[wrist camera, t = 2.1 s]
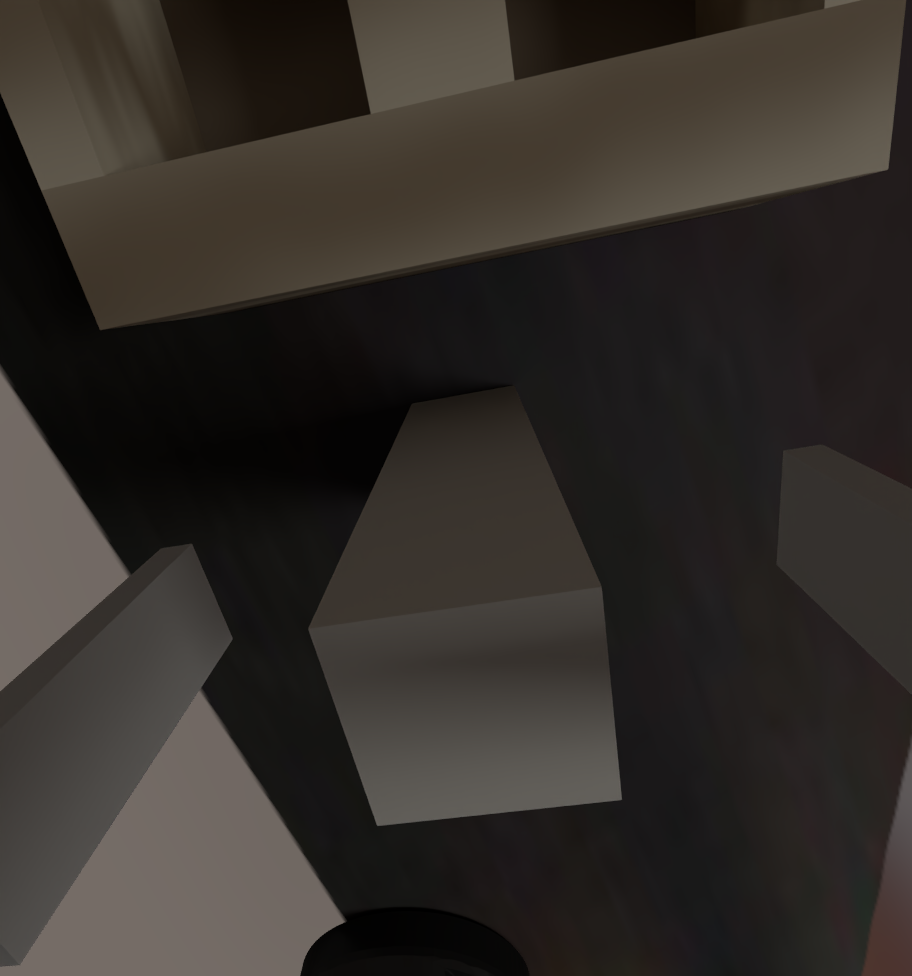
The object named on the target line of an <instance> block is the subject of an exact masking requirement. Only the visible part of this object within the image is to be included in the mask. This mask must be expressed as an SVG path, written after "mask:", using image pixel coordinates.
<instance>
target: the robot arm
mask: <svg viewBox="0 0 912 976" xmlns="http://www.w3.org/2000/svg"><path fill="white" fill-rule="evenodd" d="M777 565H778V566H779V567H780V568H781V569H782V570H783V571H784V572H785V573H786V574H787V575H788V576H789V577H790V578H791V579H792V580H793V581H794V582H795V583H796V584H798V585H799V586H800V587H801V588H802V589H803V590H804V591H805V592H806V593H807V594H808V595H809V596H810V597H811V598H812V599H813V600H814V601H815V602H816V603H817V604H818V605H819V606H820V607H821V608H822V609H823V610H824V611H826V612H827V613H828V614H829V615H830V616H831V617H832V618H833V619H834V620H835V621H836V622H837V623H838V624H839V625H840V626H841V627H842V628H843V629H844V630H845V631H846V632H847V633H848V634H849V635H850V636H851V637H853V638H854V639H855V640H856V641H857V642H858V643H859V644H860V645H861V646H862V647H863V648H864V649H865V650H866V651H867V652H868V653H869V654H870V655H871V656H872V657H873V658H874V659H875V660H876V661H877V662H878V663H880V664H881V665H882V666H883V667H884V668H885V669H886V670H887V671H888V672H889V673H890V674H891V675H892V676H893V677H894V678H895V679H896V680H897V681H898V682H899V683H900V684H901V685H902V686H903V687H904V688H905V689H907V690H908V691H909V692H910V693H911V694H912V489H911V488H909V487H907V486H905V485H903V484H901V483H899V482H897V481H895V480H893V479H891V478H889V477H887V476H885V475H883V474H881V473H879V472H877V471H875V470H873V469H871V468H868V467H866V466H864V465H862V464H860V463H858V462H856V461H854V460H852V459H850V458H848V457H846V456H844V455H842V454H840V453H838V452H836V451H834V450H832V449H830V448H828V447H826V446H824V445H817V446H810V447H804V448H797V449H791V450H785V451H783V465H782V482H781V499H780V516H779V533H778V550H777ZM232 639H233V638H232V636H231V634H230V631H229V629H228V627H227V624H226V622H225V620H224V617H223V615H222V613H221V610H220V608H219V606H218V603H217V601H216V599H215V597H214V594H213V592H212V590H211V587H210V585H209V583H208V580H207V578H206V576H205V573H204V571H203V569H202V566H201V564H200V562H199V559H198V557H197V555H196V552H195V550H194V548H193V545H192V544H187V545H181V546H174V547H168V548H162V549H160V550H159V551H158V552H157V553H156V554H154V555H153V556H152V557H151V558H150V559H149V560H148V561H147V562H145V563H144V564H143V565H142V566H141V567H140V568H139V569H138V570H136V571H135V572H134V573H133V574H132V575H131V576H130V577H129V578H127V579H126V580H125V581H124V582H123V583H122V584H121V585H120V586H118V587H117V588H116V589H115V590H114V591H113V592H112V593H111V594H109V596H107V597H106V598H105V599H104V600H103V601H102V602H101V603H99V604H98V605H97V606H96V607H95V608H94V609H93V610H91V611H90V612H89V613H88V614H87V615H86V616H85V617H84V618H83V619H81V620H80V621H79V622H78V623H77V624H76V625H75V626H73V627H72V628H71V629H70V630H69V631H68V632H67V633H66V634H65V635H63V636H62V637H61V638H60V639H59V640H58V641H57V642H55V644H53V645H52V646H51V647H50V648H49V649H48V650H47V651H45V652H44V653H43V654H42V655H41V656H40V657H39V658H38V659H36V660H35V661H34V662H33V663H32V664H31V665H30V666H28V667H27V668H26V669H25V670H24V671H23V672H22V673H21V674H19V675H18V676H17V677H16V678H15V679H14V680H13V681H12V682H10V683H9V684H8V685H7V686H6V687H5V688H4V689H3V690H2V691H0V966H13V965H20V964H21V962H22V961H23V959H24V958H25V956H26V955H27V953H28V951H29V950H30V948H31V947H32V945H33V944H34V942H35V941H36V939H37V938H38V936H39V934H40V933H41V931H42V930H43V928H44V927H45V925H46V924H47V922H48V921H49V919H50V918H51V916H52V915H53V913H54V912H55V910H56V909H57V907H58V906H59V904H60V902H61V901H62V899H63V898H64V896H65V895H66V893H67V892H68V890H69V889H70V887H71V886H72V884H73V883H74V881H75V880H76V878H77V877H78V875H79V873H80V872H81V870H82V868H83V867H84V866H85V864H86V863H87V861H88V860H89V858H90V857H91V855H92V853H93V852H94V850H95V849H96V847H97V846H98V844H99V843H100V841H101V840H102V838H103V837H104V835H105V834H106V832H107V831H108V829H109V828H110V826H111V824H112V823H113V821H114V820H115V818H116V817H117V815H118V814H119V812H120V811H121V809H122V808H123V806H124V805H125V803H126V802H127V800H128V798H129V797H130V795H131V794H132V792H133V791H134V789H135V788H136V786H137V785H138V783H139V782H140V780H141V779H142V777H143V775H144V774H145V772H146V771H147V769H148V768H149V766H150V765H151V763H152V762H153V760H154V759H155V757H156V756H157V754H158V753H159V751H160V749H161V748H162V746H163V745H164V743H165V742H166V740H167V739H168V737H169V736H170V734H171V733H172V731H173V730H174V728H175V727H176V725H177V723H178V722H179V720H180V719H181V717H182V716H183V714H184V713H185V711H186V710H187V708H188V706H189V705H190V704H191V702H192V700H193V699H194V697H195V696H196V694H197V693H198V691H199V690H200V688H201V687H202V685H203V684H204V682H205V681H206V679H207V678H208V676H209V674H210V673H211V671H212V670H213V668H214V667H215V665H216V664H217V662H218V661H219V659H220V658H221V656H222V655H223V653H224V651H225V650H226V648H227V647H228V645H229V644H230V642H231V641H232ZM300 976H529V971H528V968H527V965H526V963H525V961H524V960H523V958H522V957H521V955H520V954H519V953H518V951H517V950H516V949H515V948H514V947H513V946H512V945H511V944H510V943H509V942H507V941H506V940H505V939H503V938H502V937H501V936H499V935H498V934H496V933H494V932H493V931H491V930H489V929H487V928H485V927H483V926H480V925H478V924H476V923H473V922H470V921H467V920H464V919H461V918H457V917H454V916H449V915H444V914H438V913H431V912H421V911H394V912H384V913H377V914H371V915H367V916H363V917H359V918H356V919H353V920H350V921H347V922H345V923H343V924H341V925H338V926H336V927H335V928H333V929H331V930H330V931H328V932H326V933H325V934H324V935H322V936H321V937H320V938H319V939H318V940H317V941H316V942H315V943H314V944H313V945H312V946H311V948H310V949H309V951H308V953H307V955H306V957H305V959H304V963H303V967H302V971H301V975H300Z"/></svg>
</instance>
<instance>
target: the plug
mask: <svg viewBox="0 0 912 976" xmlns="http://www.w3.org/2000/svg"><path fill="white" fill-rule="evenodd" d="M308 630H309V632H310V635H311V638H312V641H313V644H314V647H315V650H316V652H317V655H318V658H319V661H320V664H321V667H322V669H323V672H324V675H325V678H326V681H327V684H328V687H329V689H330V692H331V695H332V698H333V701H334V704H335V707H336V709H337V712H338V715H339V718H340V721H341V724H342V727H343V729H344V732H345V735H346V738H347V741H348V744H349V746H350V749H351V752H352V755H353V758H354V761H355V764H356V766H357V769H358V772H359V775H360V778H361V781H362V784H363V786H364V789H365V792H366V795H367V798H368V801H369V803H370V806H371V809H372V812H373V815H374V818H375V821H376V823H377V826H381V825H390V824H399V823H409V822H418V821H428V820H437V819H446V818H456V817H465V816H475V815H484V814H493V813H503V812H512V811H522V810H531V809H540V808H550V807H559V806H569V805H578V804H587V803H597V802H606V801H616V800H622V797H621V786H620V776H619V765H618V755H617V744H616V734H615V723H614V713H613V702H612V692H611V681H610V670H609V660H608V649H607V639H606V628H605V618H604V607H603V597H602V587H601V584H600V582H599V580H598V578H597V575H596V573H595V571H594V568H593V566H592V564H591V561H590V559H589V557H588V555H587V552H586V550H585V548H584V545H583V543H582V541H581V538H580V536H579V534H578V531H577V529H576V527H575V525H574V522H573V520H572V518H571V515H570V513H569V511H568V508H567V506H566V504H565V502H564V499H563V497H562V495H561V492H560V490H559V488H558V485H557V483H556V481H555V479H554V476H553V474H552V472H551V469H550V467H549V465H548V462H547V460H546V458H545V456H544V453H543V451H542V449H541V446H540V444H539V442H538V439H537V437H536V435H535V432H534V430H533V428H532V426H531V423H530V421H529V419H528V416H527V414H526V412H525V409H524V407H523V405H522V403H521V400H520V398H519V396H518V393H517V391H516V389H515V386H514V385H513V386H507V387H502V388H496V389H491V390H485V391H480V392H474V393H468V394H463V395H457V396H452V397H446V398H441V399H435V400H430V401H424V402H418V403H413V404H411V407H410V409H409V411H408V413H407V415H406V417H405V420H404V422H403V424H402V426H401V428H400V431H399V433H398V435H397V437H396V439H395V441H394V444H393V446H392V448H391V450H390V452H389V454H388V457H387V459H386V461H385V463H384V465H383V467H382V470H381V472H380V474H379V476H378V478H377V481H376V483H375V485H374V487H373V489H372V491H371V494H370V496H369V498H368V500H367V502H366V504H365V507H364V509H363V511H362V513H361V515H360V517H359V520H358V522H357V524H356V526H355V528H354V530H353V533H352V535H351V537H350V539H349V541H348V544H347V546H346V548H345V550H344V552H343V554H342V557H341V559H340V561H339V563H338V565H337V567H336V570H335V572H334V574H333V576H332V578H331V580H330V583H329V585H328V587H327V589H326V591H325V593H324V596H323V598H322V600H321V602H320V604H319V607H318V609H317V611H316V613H315V615H314V617H313V620H312V622H311V624H310V626H309V628H308Z"/></svg>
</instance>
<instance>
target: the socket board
mask: <svg viewBox="0 0 912 976" xmlns="http://www.w3.org/2000/svg"><path fill="white" fill-rule="evenodd" d="M905 5H906V0H0V93H1V96H2V98H3V101H4V103H5V105H6V108H7V110H8V112H9V115H10V117H11V120H12V122H13V124H14V127H15V129H16V131H17V134H18V136H19V139H20V141H21V143H22V146H23V148H24V150H25V153H26V155H27V158H28V160H29V162H30V165H31V167H32V169H33V172H34V174H35V177H36V179H37V181H38V184H39V186H40V188H41V191H42V193H43V196H44V198H45V200H46V203H47V205H48V207H49V210H50V212H51V215H52V217H53V219H54V222H55V224H56V226H57V229H58V231H59V234H60V236H61V238H62V241H63V243H64V245H65V248H66V250H67V253H68V255H69V257H70V260H71V262H72V264H73V267H74V269H75V272H76V274H77V276H78V279H79V281H80V283H81V286H82V288H83V291H84V293H85V295H86V298H87V300H88V302H89V305H90V307H91V310H92V312H93V314H94V317H95V319H96V321H97V324H98V326H99V329H100V330H104V329H112V328H119V327H127V326H134V325H142V324H149V323H157V322H164V321H171V320H179V319H186V318H194V317H201V316H209V315H216V314H224V313H230V312H235V311H240V310H244V309H249V308H254V307H259V306H264V305H269V304H274V303H279V302H284V301H289V300H294V299H299V298H304V297H309V296H314V295H319V294H324V293H329V292H333V291H338V290H343V289H348V288H353V287H358V286H363V285H368V284H373V283H378V282H383V281H388V280H393V279H398V278H403V277H408V276H413V275H418V274H422V273H427V272H432V271H437V270H442V269H447V268H452V267H457V266H462V265H467V264H472V263H477V262H482V261H487V260H492V259H497V258H502V257H507V256H511V255H516V254H521V253H526V252H531V251H536V250H541V249H546V248H551V247H556V246H561V245H566V244H571V243H576V242H581V241H586V240H591V239H596V238H600V237H605V236H610V235H615V234H620V233H625V232H630V231H635V230H640V229H645V228H650V227H655V226H660V225H665V224H670V223H675V222H680V221H685V220H689V219H694V218H699V217H704V216H709V215H714V214H719V213H724V212H729V211H733V210H737V209H741V208H745V207H748V206H752V205H756V204H760V203H763V202H767V201H771V200H775V199H779V198H782V197H786V196H790V195H794V194H797V193H801V192H805V191H809V190H812V189H816V188H820V187H824V186H827V185H831V184H835V183H839V182H843V181H846V180H850V179H854V178H858V177H861V176H865V175H869V174H873V173H876V172H880V171H884V170H888V165H889V156H890V146H891V137H892V128H893V118H894V109H895V99H896V90H897V80H898V71H899V62H900V52H901V43H902V33H903V24H904V14H905Z"/></svg>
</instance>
